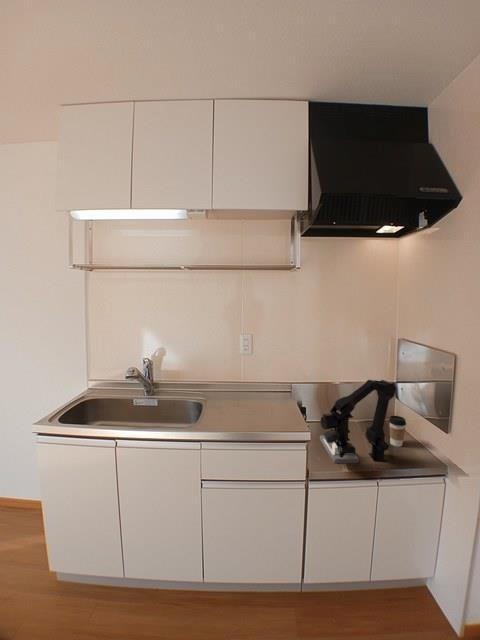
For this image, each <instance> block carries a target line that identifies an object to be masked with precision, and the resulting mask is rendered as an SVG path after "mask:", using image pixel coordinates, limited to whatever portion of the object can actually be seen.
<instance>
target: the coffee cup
mask: <svg viewBox="0 0 480 640" xmlns="http://www.w3.org/2000/svg"><path fill="white" fill-rule="evenodd" d="M388 423H389V443H390V445H391V446H394V447H398V448H399V447H403V443H404V436H405V431H406V425H407V422H406V418H404V417H402V416H400V415H391V416H390V417H389V419H388Z"/></svg>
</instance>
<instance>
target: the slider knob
mask: <svg viewBox="0 0 480 640" xmlns="http://www.w3.org/2000/svg"><path fill="white" fill-rule="evenodd" d="M332 451H333V452H334V454H339V451H338V447H337V445H336V444H332Z"/></svg>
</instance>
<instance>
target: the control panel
mask: <svg viewBox="0 0 480 640" xmlns="http://www.w3.org/2000/svg"><path fill="white" fill-rule="evenodd" d="M319 440H320V442H321V444H322V445H323V447H324V448H325V450H326V452H327V453H328V455H329V457H330V458H331V460H332V462H333V463H334V464H354V463H355V464H357V463H358V464H359V463H360V462H359V457H358V456H357V455H356V452H355V453H345V454H344V456H343V457H342V458H341V457H340V456H339V454H334V452H333V451H332V444H335V442H333V443H327V441H326V440H325V437H324V434H323V435H319Z"/></svg>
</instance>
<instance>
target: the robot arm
mask: <svg viewBox="0 0 480 640" xmlns="http://www.w3.org/2000/svg"><path fill="white" fill-rule="evenodd" d="M374 391H376V395H377V402H376V407H375V410H374V416H373V421H372V423H371V425H370V426H369V427H366V431H365V438H366V440H367V442H368V443H369V444H370V445H371V452H368V456H369V457H370V458H371V459H372V460H373V462H387V461H388V459H387V458H386V457H385V452H386V451H387V450H389V447H390V445H389V444H388V442H386V440H385V438H386V437H385V436H386V435H385V431H384V425H385V422H386V417H387V411H388V407H389V404H390V400H392V398H394V397H395V393H396V391H397V387H396V385H395V384H394V383H392V382H389V381H388V380H384V379H381V380H376V379H375V380H373V379H367V380H366V382H365V383H364V384H363V385H361V386H359V387H358V388H357V389H355V390H354V391H353V392H352V393H350V394H349V395H347V396H342V397H340V398H339V399H337V400H336V401H335V403H334V405H333V406H332V408H331V410H330V411H329V413H324V414H322V416H321V417H320V426H321V428H322V429H323V430H328V431H325V432H323V435H324V437H325V440H326V441H327V443H333V442H335V444H336V445H337V447H338V451H339V456H340V457H341V458H342V457H343V456H344V454H345V453H355V454H356V451H357V450H356V447H355V446H354V445H353V444H352V443H351V442H350V437H349V433H351V430H350V429H349V428H350V427H349V424H350V423H349V422H350V419H353V418H354V416H353V415H352V414H351V413H352V412H353V411H354V409H355V407H356V405H357V404H358V403H359V402H361V401H362V400H364V399H365V398H366V397H367V396H368V395H370V394H371V393H372V392H374Z"/></svg>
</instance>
